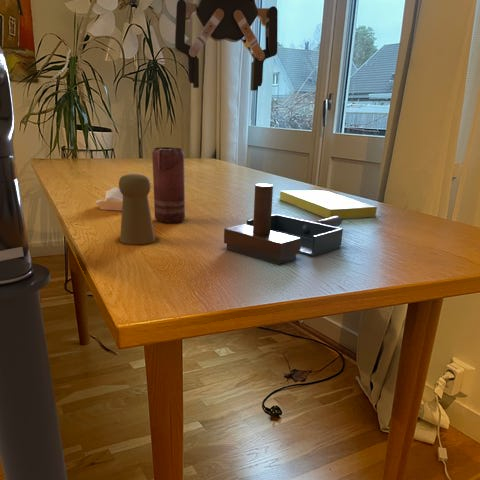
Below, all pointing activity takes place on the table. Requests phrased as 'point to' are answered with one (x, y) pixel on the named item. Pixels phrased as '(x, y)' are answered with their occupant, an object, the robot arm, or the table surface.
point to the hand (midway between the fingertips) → (225, 89)
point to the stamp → (262, 233)
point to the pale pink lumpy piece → (112, 200)
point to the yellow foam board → (328, 204)
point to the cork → (136, 210)
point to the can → (169, 184)
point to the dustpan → (309, 232)
